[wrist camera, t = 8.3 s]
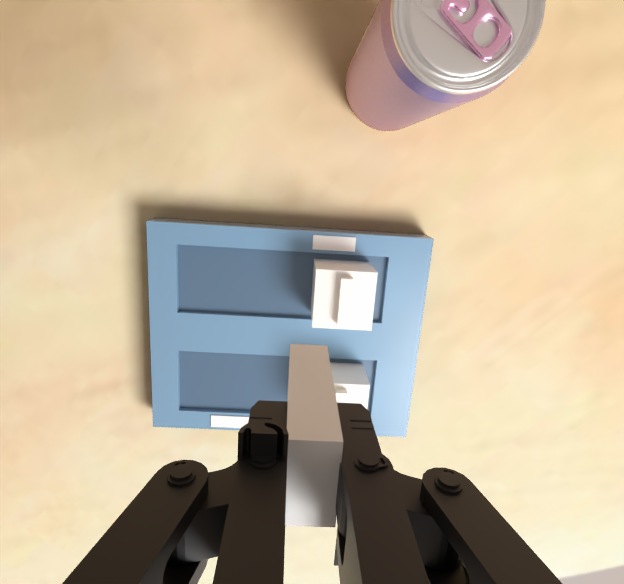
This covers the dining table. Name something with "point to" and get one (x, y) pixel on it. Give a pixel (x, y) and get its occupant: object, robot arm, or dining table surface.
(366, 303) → the tab near
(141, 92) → the dining table surface
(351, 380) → the tab far
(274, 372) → the switch bank
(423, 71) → the beverage can
